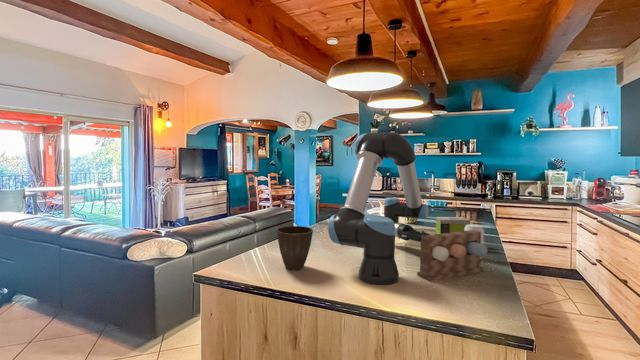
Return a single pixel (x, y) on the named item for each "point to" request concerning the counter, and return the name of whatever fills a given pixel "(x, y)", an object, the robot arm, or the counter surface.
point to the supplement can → (476, 228)
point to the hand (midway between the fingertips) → (438, 242)
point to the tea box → (450, 224)
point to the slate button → (476, 249)
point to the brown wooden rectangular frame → (452, 265)
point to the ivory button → (440, 253)
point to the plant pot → (294, 245)
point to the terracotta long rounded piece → (457, 250)
